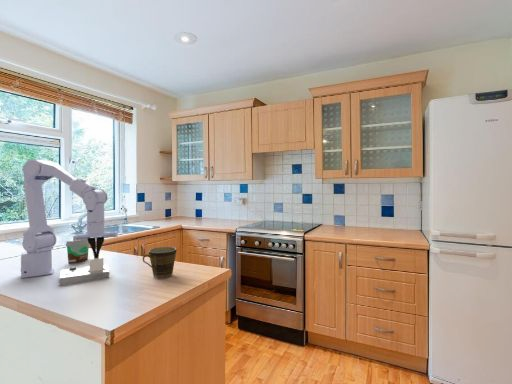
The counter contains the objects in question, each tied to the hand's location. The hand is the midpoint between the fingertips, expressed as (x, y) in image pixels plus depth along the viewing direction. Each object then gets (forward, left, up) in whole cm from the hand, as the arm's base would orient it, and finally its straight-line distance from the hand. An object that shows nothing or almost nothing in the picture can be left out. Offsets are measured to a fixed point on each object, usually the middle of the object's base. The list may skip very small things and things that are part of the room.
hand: (96, 257), depth 108 cm
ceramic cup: (+20, -14, -7) cm, 25 cm away
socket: (-4, +1, -7) cm, 8 cm away
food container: (-4, +30, -7) cm, 31 cm away
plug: (0, 0, -6) cm, 6 cm away
